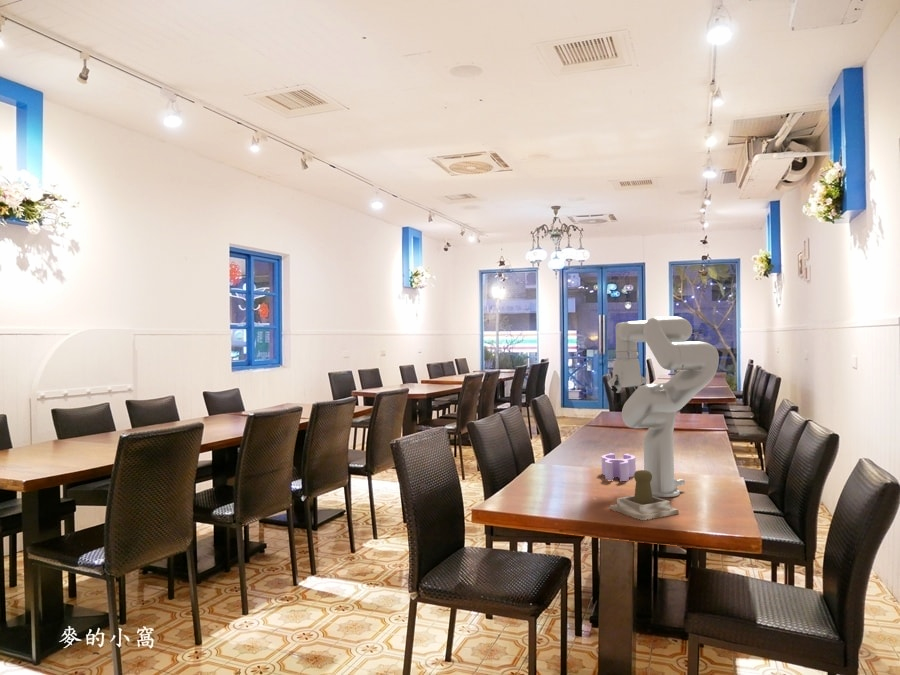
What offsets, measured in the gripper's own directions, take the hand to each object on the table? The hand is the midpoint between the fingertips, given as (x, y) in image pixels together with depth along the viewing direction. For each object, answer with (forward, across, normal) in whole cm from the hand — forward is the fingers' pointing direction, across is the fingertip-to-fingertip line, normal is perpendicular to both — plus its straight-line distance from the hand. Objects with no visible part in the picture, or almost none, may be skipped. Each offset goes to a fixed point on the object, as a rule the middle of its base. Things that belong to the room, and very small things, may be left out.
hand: (627, 402), depth 233 cm
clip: (+29, -1, -8) cm, 30 cm away
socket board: (+28, +25, +34) cm, 51 cm away
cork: (+27, +25, +34) cm, 50 cm away
